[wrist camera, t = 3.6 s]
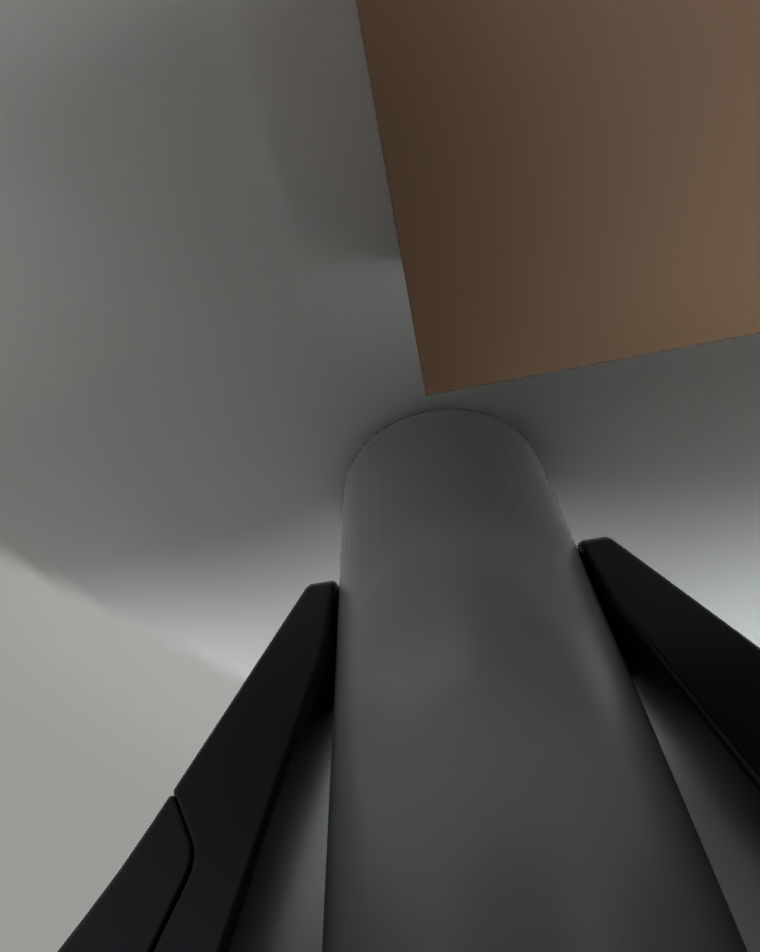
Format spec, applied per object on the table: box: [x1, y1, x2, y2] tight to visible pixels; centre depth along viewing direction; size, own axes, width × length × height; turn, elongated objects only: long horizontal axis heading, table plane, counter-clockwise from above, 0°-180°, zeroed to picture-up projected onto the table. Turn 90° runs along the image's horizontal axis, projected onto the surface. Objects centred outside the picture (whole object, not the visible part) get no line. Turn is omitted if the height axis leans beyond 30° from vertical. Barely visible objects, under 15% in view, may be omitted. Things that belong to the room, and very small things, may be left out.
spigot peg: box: [322, 409, 748, 952], centre depth 7 cm, size 3×3×8 cm
